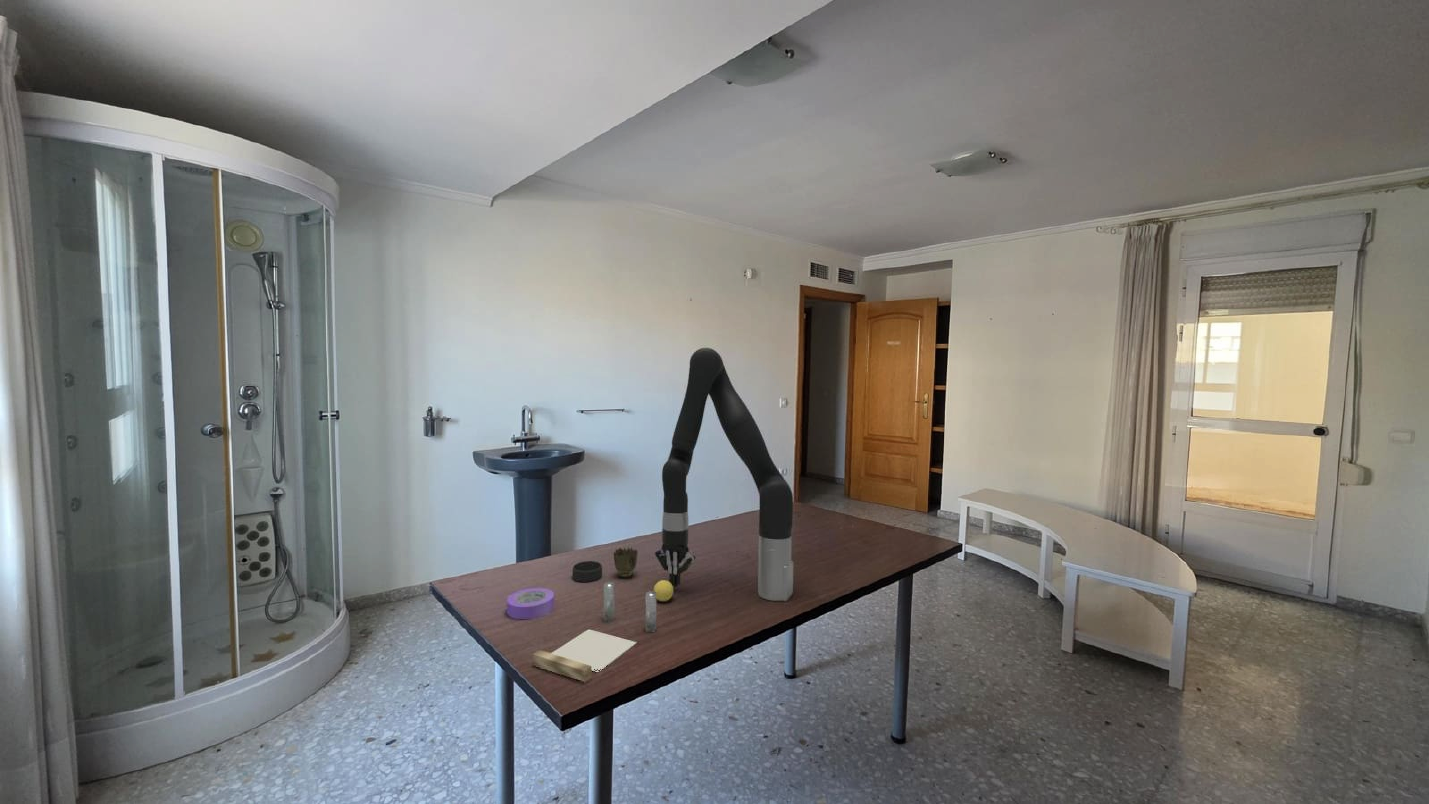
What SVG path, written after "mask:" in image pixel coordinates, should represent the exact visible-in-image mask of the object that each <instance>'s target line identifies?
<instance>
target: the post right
mask: <svg viewBox="0 0 1429 804" xmlns="http://www.w3.org/2000/svg"><path fill="white" fill-rule="evenodd" d="M644 627H645V628H644V630H645V632H646V633H655V632H656V631H657V599H656V592H654V590H650V591H647V592H645V626H644Z"/></svg>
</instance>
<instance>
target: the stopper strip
mask: <svg viewBox="0 0 1429 804" xmlns="http://www.w3.org/2000/svg"><path fill="white" fill-rule="evenodd" d="M551 653H552V652H548V651H544V650H541V649H540V650H537V651H536V652H534V653H532V667H534V666H536V667H535V668H537V667H539V668H538V669H540V668H541V670H543V669H547V670H549V671H552V672H556V673H558V674H561V675H564V676H567V677H572V678H575V679H578V680H582V681H584V682H585V681H586V680H588V679H589V678H591V679H592V671H591V666H589V665H586V664H583V663H580V662H577V661H573V660H570V659H567V658H564V657H561V656H557V655H554V654H551ZM549 671H548V672H549ZM552 672H551V673H552ZM558 674H557V675H558ZM561 675H560V676H561ZM564 676H563V677H564ZM567 677H566V678H567ZM588 681H589V680H588Z"/></svg>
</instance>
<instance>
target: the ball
mask: <svg viewBox="0 0 1429 804" xmlns="http://www.w3.org/2000/svg"><path fill="white" fill-rule="evenodd" d="M653 591H654V592H656V600H657V601H660V602H667V601H669V600H670V599H671V598H672V597H673V595H674V587H673V586H672V584H671V583H670V582H669V580H664V579H661V580H659V581H657V583H655V585H654V587H653Z"/></svg>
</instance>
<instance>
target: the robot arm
mask: <svg viewBox="0 0 1429 804" xmlns="http://www.w3.org/2000/svg"><path fill="white" fill-rule="evenodd" d="M688 369H689V370H688V379H687V385H686V388H685V389H686V390H685V394H684V398H683V401H682V402H683V403H682V406H681V409H680V412H679V413H678V414H679V415H678V418H677V421H676V424H675V426H674V427H675V428H674V431H673V435H672V438H671V450H670V452H669V454H668V455H669V456H668V458H667V461H666V462H665V463H664V464H663V466H662V470H661V471H662V472H661V480H662V481H661V482H662V490H663V507H662V508H663V511H662V512H663V513H662V521H661V522H662V526H661V528H662V529H661V531H662V532H661V542H662V545H661V548H660V549H659V550H657V551H655V553H654V554H655V557H656V558H657V560H658V562H659V564H660V565H661V567H662V569H663V571H667V572H668V573H669V574H668V576H669V577H668V578H669V580H668V582H670V583H671V584H672V586H673V588H676V587H678V586H679V585H680V584H681V575H682V574H683V573H684V572H687V571H688V569H689V568H690V567H691V565H692V564H693V563H694V561H695V560H696V556H695V555H692V554H691V553H690V550H689V547H688V543H689V512H688V510H689V507H688V505H689V504H688V503H689V498H688V492H687V476H688V474H689V473H690V472H689V471H690V469H691V465H692V461H693V456H694V452H695V448H696V445H697V442H698V439H699V436H700V431H701V429H702V428H701V427H702V424H703V419H704V413H705V408H706V404H707V400H708V397H710V399H711V401H712V403H713V407H714V410H715V412H716V415H717V419H718V421H719V423H720V425H721V428H722V430H723V432H724V434H725V435H726V438H727V440H728V442H729V443H730V445H731V447H732V449H733V450H734V451H735V453H736V454H737V456H738V457H739V458H740V460H741V462H743V464H744V465H745V466H746V468H747V469H748V471H749V472H750V475H751V476H752V479H753V482H754V484H755V487H756V490H757V492H758V494H759V495H758V496H759V511H758V512H759V513H758V514H759V516H758V517H759V518H758V519H759V521H758V568H757V569H758V575H757V576H758V577H757V578H758V580H757V581H758V583H757V584H758V585H757V592H758V593H757V594H758V596H759V597H760V598H762V599H764V600H768V601H777V602H778V601H784V602H787V601H788V600H789V599H790V598H791V597H792V595H793V594H794V561H793V560H792V531H793V530H792V529H793V517H794V516H793V514H794V497H793V491H792V489H791V486H790V484H789V483H788V482H787V481H786V479H785V478H784V477H783V475H782V473H781V472H780V471H779V469H778V468H777V466H776V465H775V463H774V461H773V459H772V458H771V457H772V456H771V455H770V453H769V450H768V447H767V444H766V442H765V439H764V437H763V434H762V433H761V430H760V429H759V425H758V424H757V422H756V421H755V419H754V417H753V414H751V412H750V410H749V408H748V407H747V405H746V404H745V402H744V401H743V400H742V398H741V397H740V395H739V394H738V392H737V391H736V389H735V388H734V385H733V384H732V382H731V380H730V377H729V375H728V372H727V370H726V367H725V364H724V360H723V359H722V356H721V355H720V354H719V353H718V352H717V351H716V350H715V349H713V348H711V347H701V348H699V349H697V350H695V351H694V352H693V354H692V355H691V356H690V359H689V368H688ZM684 561H685V562H684Z"/></svg>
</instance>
